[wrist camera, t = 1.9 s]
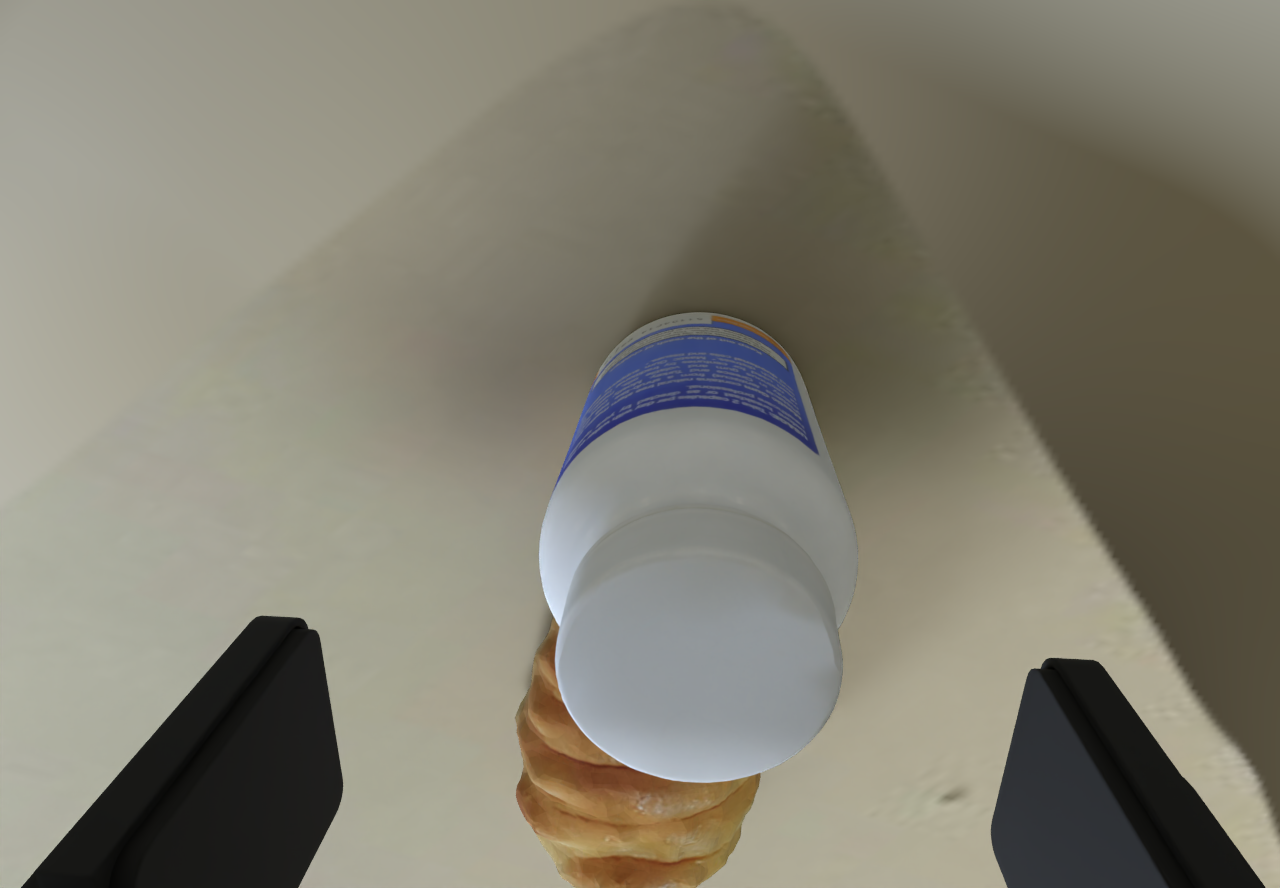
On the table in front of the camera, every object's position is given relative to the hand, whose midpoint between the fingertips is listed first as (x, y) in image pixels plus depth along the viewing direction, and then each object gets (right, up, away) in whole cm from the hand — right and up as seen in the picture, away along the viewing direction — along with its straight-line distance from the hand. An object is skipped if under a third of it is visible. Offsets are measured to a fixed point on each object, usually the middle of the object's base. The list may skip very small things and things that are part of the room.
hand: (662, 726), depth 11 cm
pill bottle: (+1, +5, +9) cm, 10 cm away
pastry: (0, -4, +13) cm, 14 cm away
